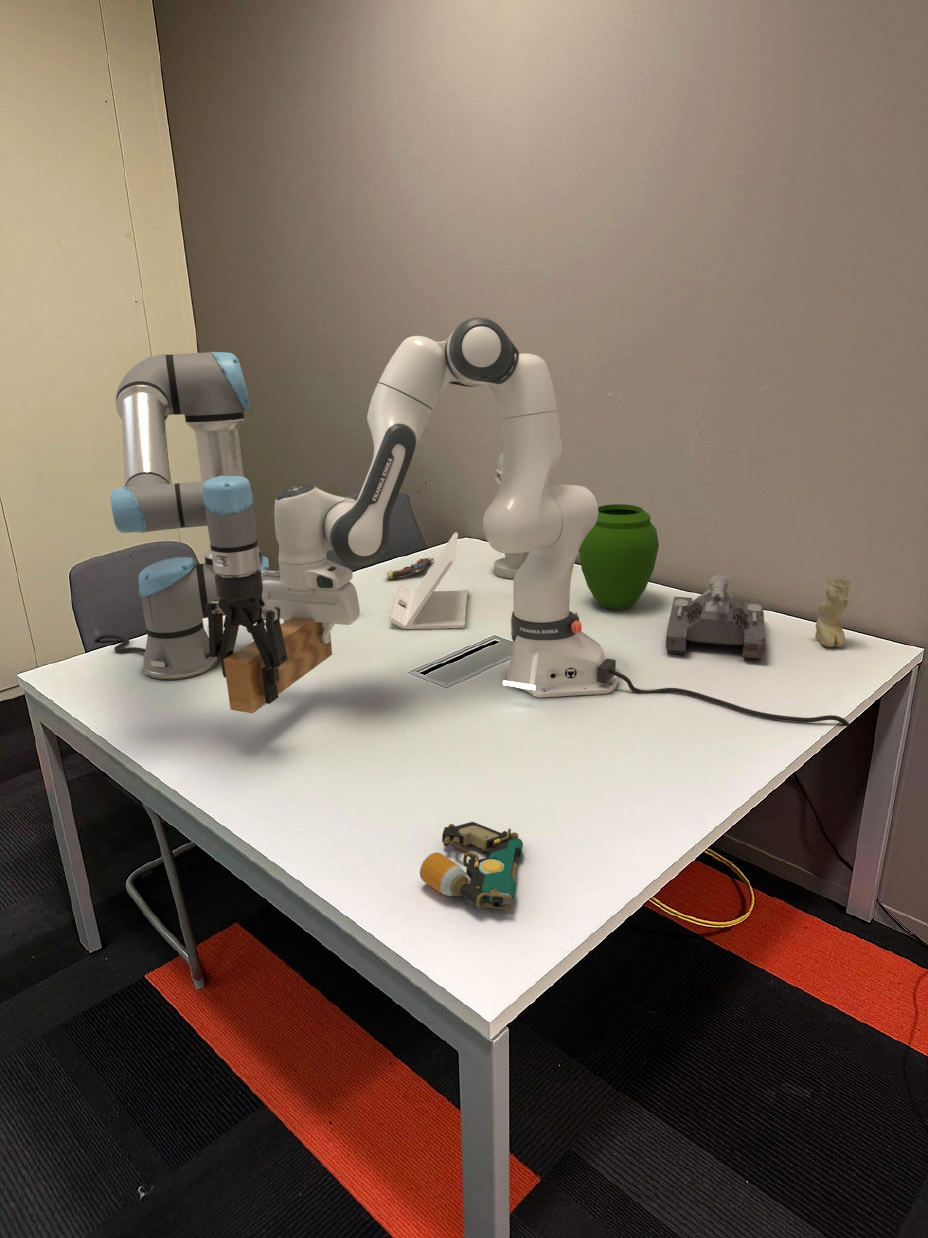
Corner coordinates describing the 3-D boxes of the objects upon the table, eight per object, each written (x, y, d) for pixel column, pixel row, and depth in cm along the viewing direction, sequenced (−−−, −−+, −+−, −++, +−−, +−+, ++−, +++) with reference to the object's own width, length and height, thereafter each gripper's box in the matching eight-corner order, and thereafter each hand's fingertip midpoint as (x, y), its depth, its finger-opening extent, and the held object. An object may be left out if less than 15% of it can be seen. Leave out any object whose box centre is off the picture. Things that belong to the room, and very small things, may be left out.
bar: (312, 651, 170) (308, 607, 167) (332, 654, 168) (328, 609, 165) (230, 709, 147) (223, 659, 143) (252, 713, 145) (246, 663, 142)
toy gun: (384, 572, 237) (419, 569, 235) (401, 557, 255) (434, 554, 253) (386, 581, 238) (420, 578, 236) (403, 566, 256) (435, 563, 253)
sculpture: (821, 649, 184) (830, 583, 179) (808, 637, 191) (816, 573, 185) (848, 649, 184) (858, 582, 179) (834, 636, 191) (843, 572, 185)
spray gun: (455, 831, 126) (550, 858, 121) (400, 892, 112) (506, 927, 106) (456, 805, 125) (552, 832, 119) (400, 865, 111) (507, 898, 105)
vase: (599, 587, 227) (601, 497, 218) (668, 600, 216) (673, 505, 208) (562, 608, 212) (564, 513, 204) (634, 623, 202) (639, 523, 193)
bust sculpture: (503, 593, 225) (502, 460, 212) (483, 567, 247) (480, 445, 234) (562, 587, 228) (563, 456, 215) (536, 562, 250) (536, 441, 237)
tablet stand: (467, 593, 225) (465, 531, 219) (465, 628, 202) (462, 559, 196) (399, 594, 226) (395, 532, 220) (388, 629, 203) (384, 560, 197)
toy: (673, 615, 206) (676, 556, 200) (760, 622, 200) (766, 561, 195) (664, 656, 183) (668, 590, 178) (763, 665, 177) (770, 596, 172)
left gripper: (173, 573, 141) (193, 698, 149) (275, 584, 134) (290, 715, 142) (202, 560, 148) (219, 681, 156) (301, 570, 140) (314, 696, 149)
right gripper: (246, 574, 160) (255, 642, 165) (345, 581, 154) (351, 652, 159) (263, 564, 165) (271, 630, 170) (360, 571, 159) (365, 639, 164)
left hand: (253, 697), depth 149 cm, fingers open, 7 cm apart
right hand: (310, 641), depth 165 cm, fingers closed on bar, 4 cm apart
